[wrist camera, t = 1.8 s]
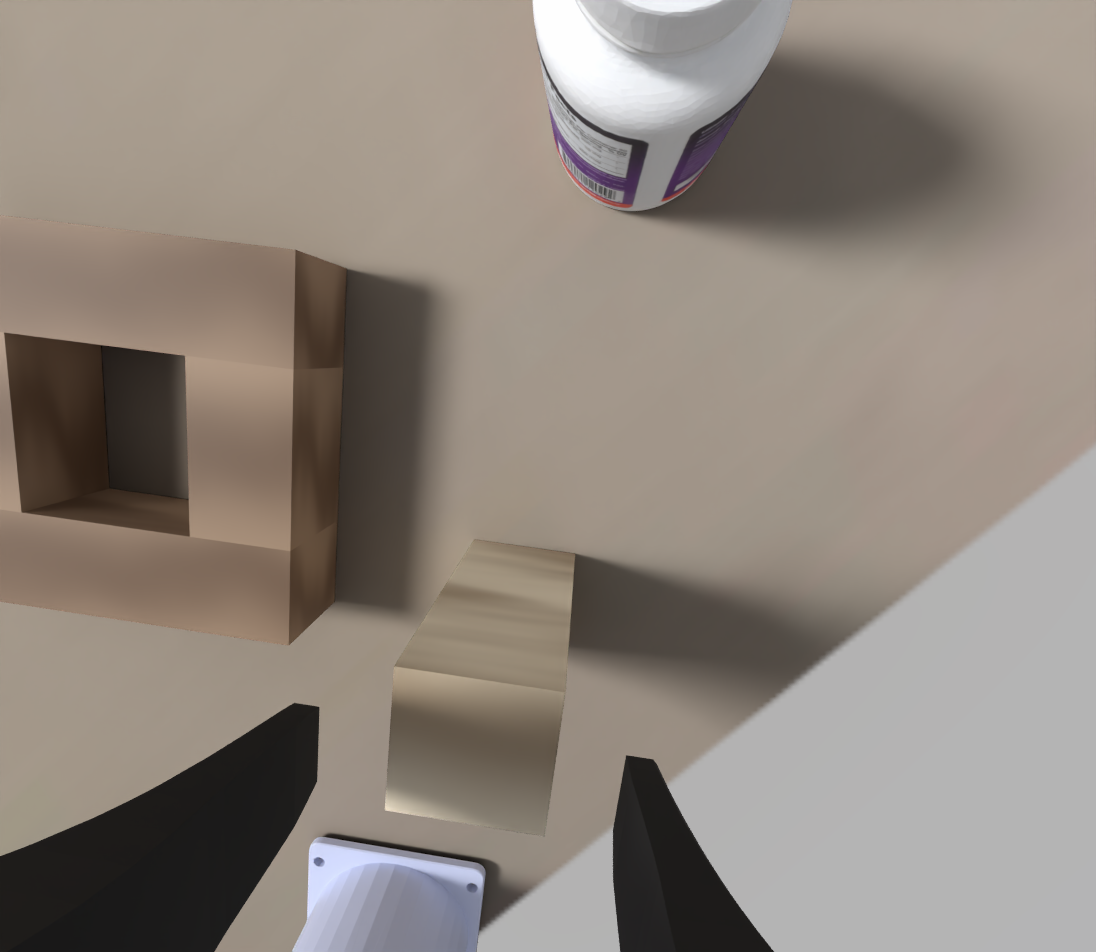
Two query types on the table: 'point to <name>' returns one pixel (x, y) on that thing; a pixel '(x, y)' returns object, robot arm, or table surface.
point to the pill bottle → (649, 87)
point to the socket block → (212, 429)
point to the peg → (484, 692)
